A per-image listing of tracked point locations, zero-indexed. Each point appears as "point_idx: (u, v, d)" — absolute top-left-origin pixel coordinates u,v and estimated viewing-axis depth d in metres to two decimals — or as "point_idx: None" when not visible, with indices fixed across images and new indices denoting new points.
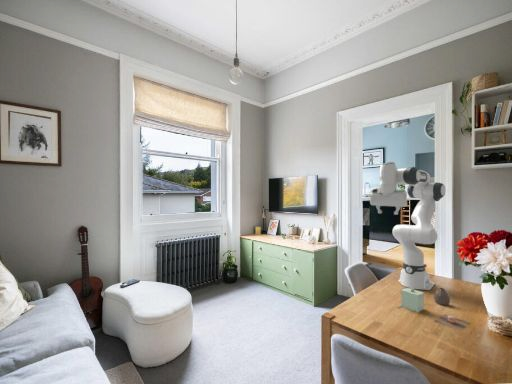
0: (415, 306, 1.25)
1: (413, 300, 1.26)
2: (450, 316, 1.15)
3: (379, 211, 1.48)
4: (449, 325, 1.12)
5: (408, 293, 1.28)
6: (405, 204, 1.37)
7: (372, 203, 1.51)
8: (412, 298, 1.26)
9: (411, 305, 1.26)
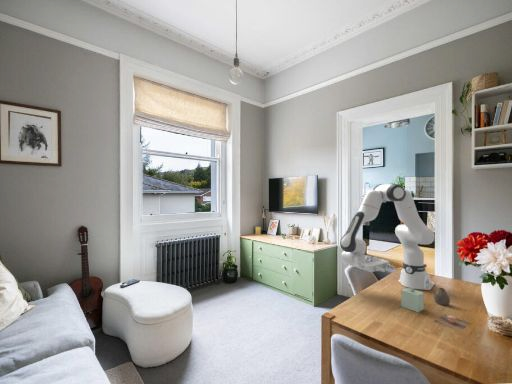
0: (415, 306, 1.25)
1: (413, 300, 1.26)
2: (450, 316, 1.15)
3: (391, 268, 1.42)
4: (449, 325, 1.12)
5: (408, 293, 1.28)
6: (369, 269, 1.38)
7: None
8: (412, 298, 1.26)
9: (411, 305, 1.26)
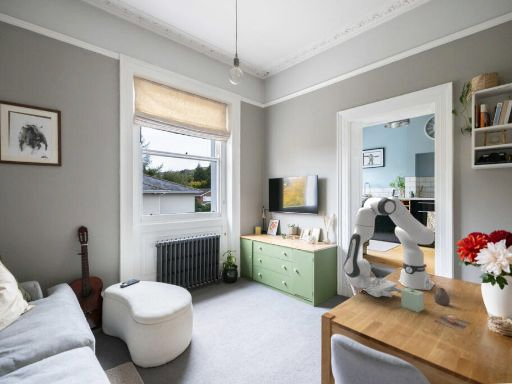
0: (415, 306, 1.25)
1: (413, 300, 1.26)
2: (450, 316, 1.15)
3: None
4: (449, 325, 1.12)
5: (408, 293, 1.28)
6: (375, 294, 1.35)
7: None
8: (412, 298, 1.26)
9: (411, 305, 1.26)
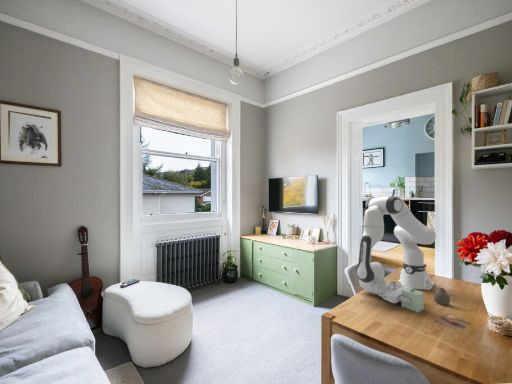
0: (415, 306, 1.25)
1: (413, 300, 1.26)
2: (450, 316, 1.15)
3: None
4: (449, 325, 1.12)
5: (408, 293, 1.28)
6: (392, 300, 1.28)
7: None
8: (412, 298, 1.26)
9: (411, 305, 1.26)
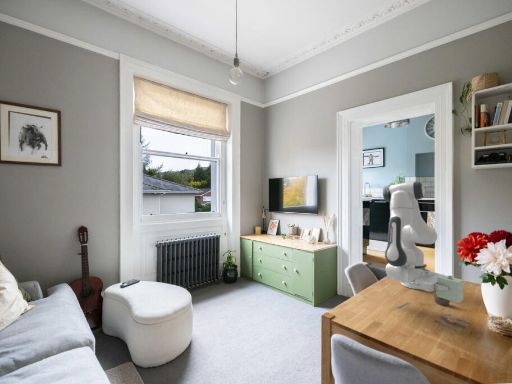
0: (454, 295, 1.11)
1: (452, 288, 1.12)
2: (450, 316, 1.15)
3: None
4: (449, 325, 1.12)
5: (445, 280, 1.14)
6: (427, 288, 1.14)
7: None
8: (450, 286, 1.12)
9: (449, 294, 1.13)
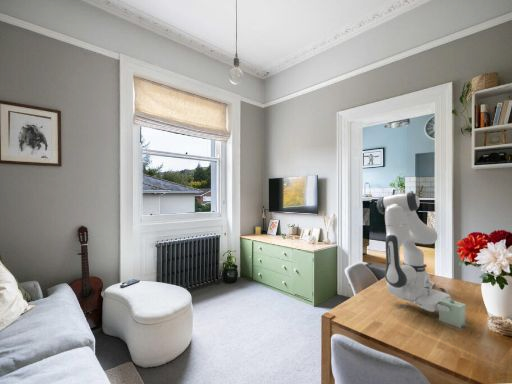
0: (457, 319, 1.11)
1: (454, 312, 1.11)
2: None
3: None
4: (449, 325, 1.12)
5: (447, 304, 1.14)
6: (429, 308, 1.13)
7: None
8: (453, 310, 1.12)
9: (451, 318, 1.12)
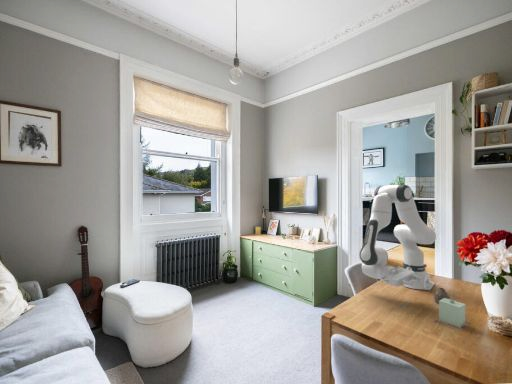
0: (457, 319, 1.11)
1: (454, 312, 1.11)
2: None
3: (418, 280, 1.32)
4: (449, 325, 1.12)
5: (447, 304, 1.14)
6: (395, 283, 1.28)
7: None
8: (453, 310, 1.12)
9: (451, 318, 1.12)
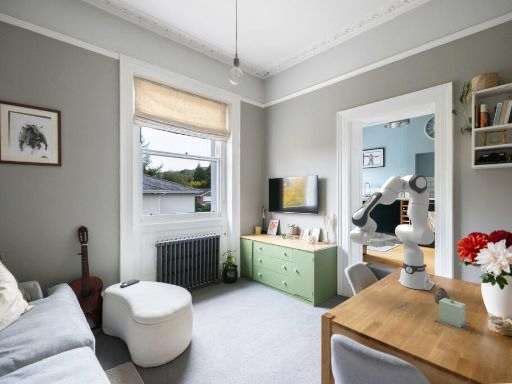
0: (457, 319, 1.11)
1: (454, 312, 1.11)
2: None
3: (400, 243, 1.42)
4: (449, 325, 1.12)
5: (447, 304, 1.14)
6: (378, 244, 1.38)
7: None
8: (453, 310, 1.12)
9: (451, 318, 1.12)
